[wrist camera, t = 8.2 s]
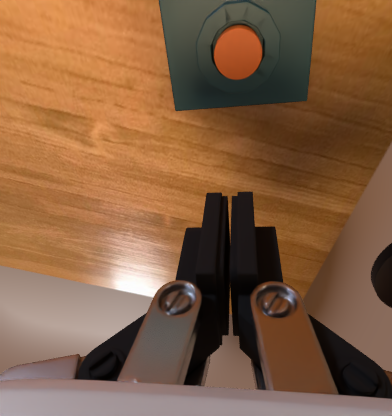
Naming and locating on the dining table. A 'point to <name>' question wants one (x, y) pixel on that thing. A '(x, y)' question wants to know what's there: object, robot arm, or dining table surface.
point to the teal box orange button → (206, 41)
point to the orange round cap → (238, 52)
